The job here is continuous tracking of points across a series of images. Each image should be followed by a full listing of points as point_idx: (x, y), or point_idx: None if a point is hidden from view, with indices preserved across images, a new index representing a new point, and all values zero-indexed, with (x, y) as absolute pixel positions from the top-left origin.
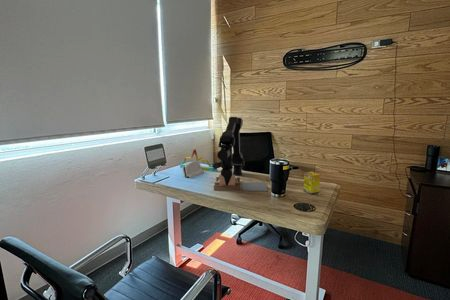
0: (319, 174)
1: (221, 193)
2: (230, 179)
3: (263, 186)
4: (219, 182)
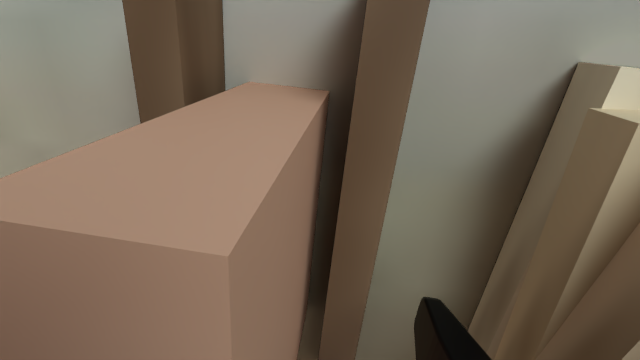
0: None
1: (56, 109)
2: None
3: None
4: (183, 113)
